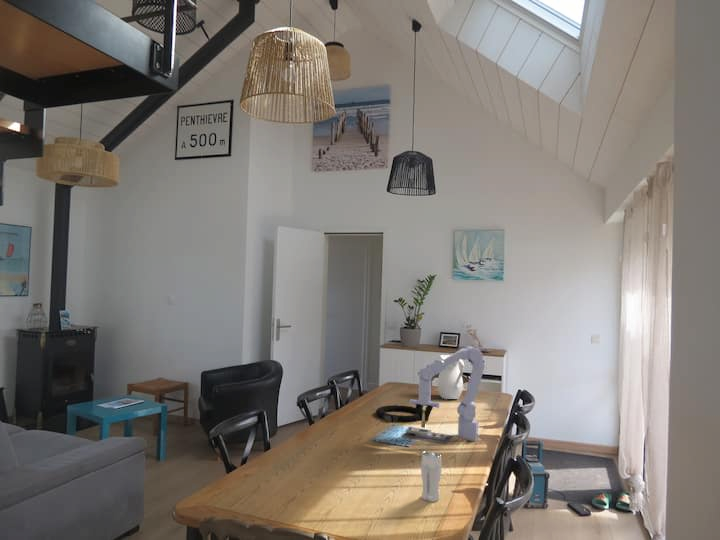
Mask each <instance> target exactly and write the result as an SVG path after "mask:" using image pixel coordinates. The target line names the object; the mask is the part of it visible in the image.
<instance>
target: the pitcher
mask: <svg viewBox="0 0 720 540" xmlns="http://www.w3.org/2000/svg"><path fill="white" fill-rule="evenodd" d="M451 355H452V354H446V355H442V354H440V356H439V357H440V358H441V360H444V359H446V358H447V357H449V356H451ZM459 366H460V367H459ZM464 372H465V363H464V360H463V359H460V360H458V361H456V362H454V363H452V364H450V365H448V366H446V368H445V370H444V371H442V372H440V373H438V378H437V382H436V383H437V387H436V388H437V392H438V394H439V396H440V398H441V397H442V398H441V399H443V398H444V399H443V400H447V399H457V400H459V398H460V397H461V395H462V393H463V390H464V381H463V376H462V375H463V373H464Z"/></svg>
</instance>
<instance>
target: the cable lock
mask: <svg viewBox="0 0 720 540" xmlns="http://www.w3.org/2000/svg"><path fill="white" fill-rule="evenodd" d="M389 412H390V413H391V412H404V413H410V415H404V414H403V415H401V414H400V415H398V414H390V413H389ZM411 414H412V415H411ZM375 415H376V416H377V417H378V418H380V419H382V420H384V421H385V422H386V423H414V422H418V421H420V420H419V415H418V412H417V410H416V407H413V406H412V405H411V406H409V405H408V406H407V405H397V404H394V405H383V406H380V407H378V408H377V409H376V411H375ZM420 422H421V421H420Z"/></svg>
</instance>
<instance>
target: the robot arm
mask: <svg viewBox="0 0 720 540" xmlns="http://www.w3.org/2000/svg"><path fill="white" fill-rule="evenodd" d="M450 355H451V356H449V357H447V358H446V359H444V360H442V359H440V358H439V359H436V358H435V360H434V361H433V362H431V363H430V364H425V366H422V367H420V368H419V370H418V371H417V375H418V377H419V378H418V379H419V382H418V399H410V400H409V405H415V408H416V410H417V412H418V415H419V420H420V422H421V416H422V410H426V423H428V421H429V418H430V415H431V412H432V410H433V408H437V409H439V408H440V403H439V402H435V401H431V398H432V397H431V395H432V394H431V393H432V379H433V377H434V376H437V375H439V374H440V372H442V371H444V370H445V368H446V366H448V365H450V364H452V363H454V362H456V361H458V360H460V359H461V360H463V361H464V360H465V361H469V363H470V365H471V367H472V369H471V372H470V375H469V380H468V382H467V383H468V384H467V387H466V389H465V390H466V391H465V394H464V397H463V398H462V399H461V401H460V403H459V405H458V406H457V408H456V411H457V414H458V421H457V422H458V424H457V425H458V426H457V429H458V430H457V435H458V437H460V438H463V439H466V440H467V441H470V442H476V441H477V440H478V439H479V421H478V420H475V418H476V415H477V414H476V408H477V407H476V406H477V405H476V398H477V395H478V391H479V387H480V384H481V380H482V378H483V377H482V376H483V374H484V371H485V362H484V359H483V357H484V355H483V353H482V351H481V350H480V349H479V348H476V347H473V346H471V345H467V346H465V347H463V348H460V349H459V350H457V351H456V352H454V353H452V354H450ZM424 406H425V409H424Z"/></svg>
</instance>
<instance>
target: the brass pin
mask: <svg viewBox="0 0 720 540" xmlns="http://www.w3.org/2000/svg"><path fill="white" fill-rule="evenodd" d="M420 422H421V424H420V427H421V428H422V429H426V428H427V422H426V409H423V410H422V416H421V421H420Z"/></svg>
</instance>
